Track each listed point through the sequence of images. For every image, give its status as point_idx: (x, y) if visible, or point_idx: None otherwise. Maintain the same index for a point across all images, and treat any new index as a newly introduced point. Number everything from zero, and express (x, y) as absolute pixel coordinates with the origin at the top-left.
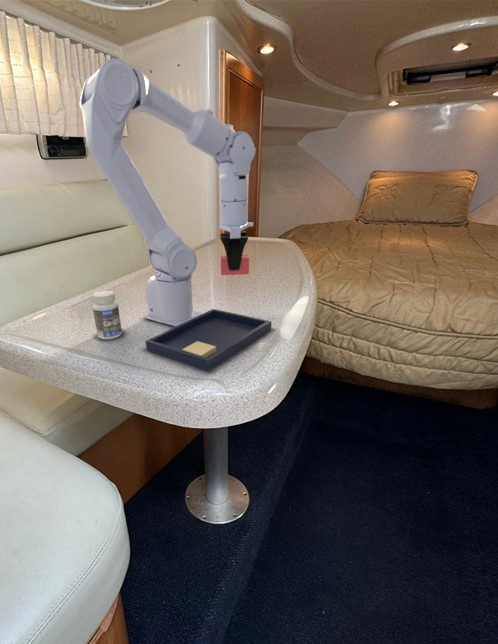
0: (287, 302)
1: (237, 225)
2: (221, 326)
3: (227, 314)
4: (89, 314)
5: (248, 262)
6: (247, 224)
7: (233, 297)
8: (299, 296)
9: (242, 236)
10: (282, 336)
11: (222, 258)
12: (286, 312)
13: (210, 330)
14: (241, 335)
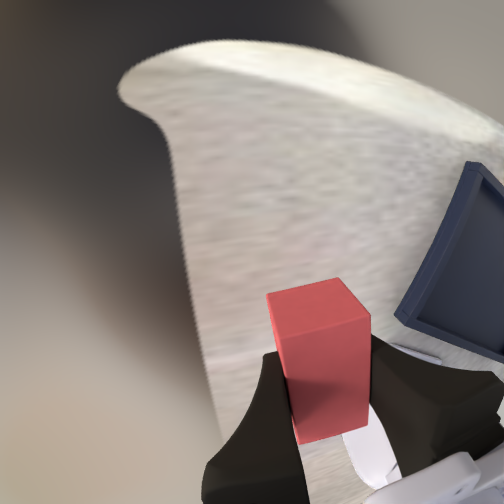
0: (247, 102)
1: (499, 491)
2: (465, 276)
3: (437, 278)
4: (347, 492)
5: (361, 304)
6: (480, 483)
7: (209, 300)
8: (170, 67)
9: (455, 429)
10: (486, 139)
11: (354, 425)
12: (352, 108)
13: (477, 292)
14: (500, 225)
